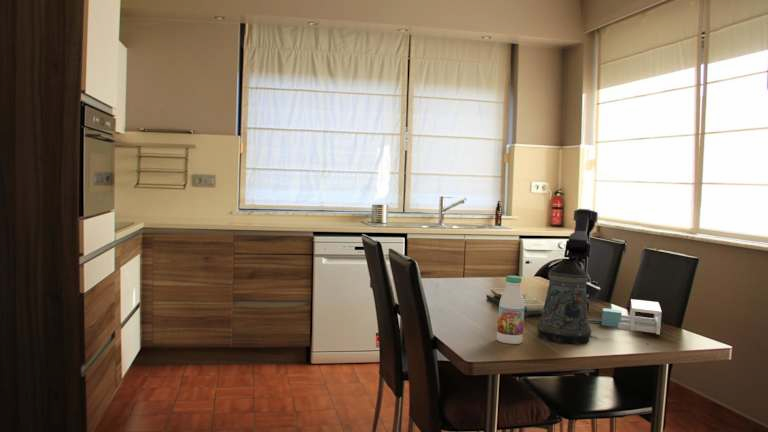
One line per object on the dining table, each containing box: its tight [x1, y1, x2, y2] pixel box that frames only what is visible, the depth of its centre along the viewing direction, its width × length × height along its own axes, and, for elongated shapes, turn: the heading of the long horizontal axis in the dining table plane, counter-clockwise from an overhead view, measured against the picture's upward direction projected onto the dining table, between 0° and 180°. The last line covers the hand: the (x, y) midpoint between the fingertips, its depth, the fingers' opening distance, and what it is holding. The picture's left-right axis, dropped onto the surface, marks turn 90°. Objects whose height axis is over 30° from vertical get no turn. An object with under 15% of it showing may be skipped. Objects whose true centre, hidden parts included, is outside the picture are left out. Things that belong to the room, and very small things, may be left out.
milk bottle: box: [496, 275, 526, 345], centre depth 192 cm, size 8×8×20 cm
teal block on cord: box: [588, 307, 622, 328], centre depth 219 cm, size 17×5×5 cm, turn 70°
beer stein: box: [536, 258, 592, 346], centre depth 201 cm, size 16×19×25 cm
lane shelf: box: [617, 298, 663, 335], centre depth 218 cm, size 21×18×9 cm
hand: (572, 317), depth 221 cm, fingers open, 4 cm apart
